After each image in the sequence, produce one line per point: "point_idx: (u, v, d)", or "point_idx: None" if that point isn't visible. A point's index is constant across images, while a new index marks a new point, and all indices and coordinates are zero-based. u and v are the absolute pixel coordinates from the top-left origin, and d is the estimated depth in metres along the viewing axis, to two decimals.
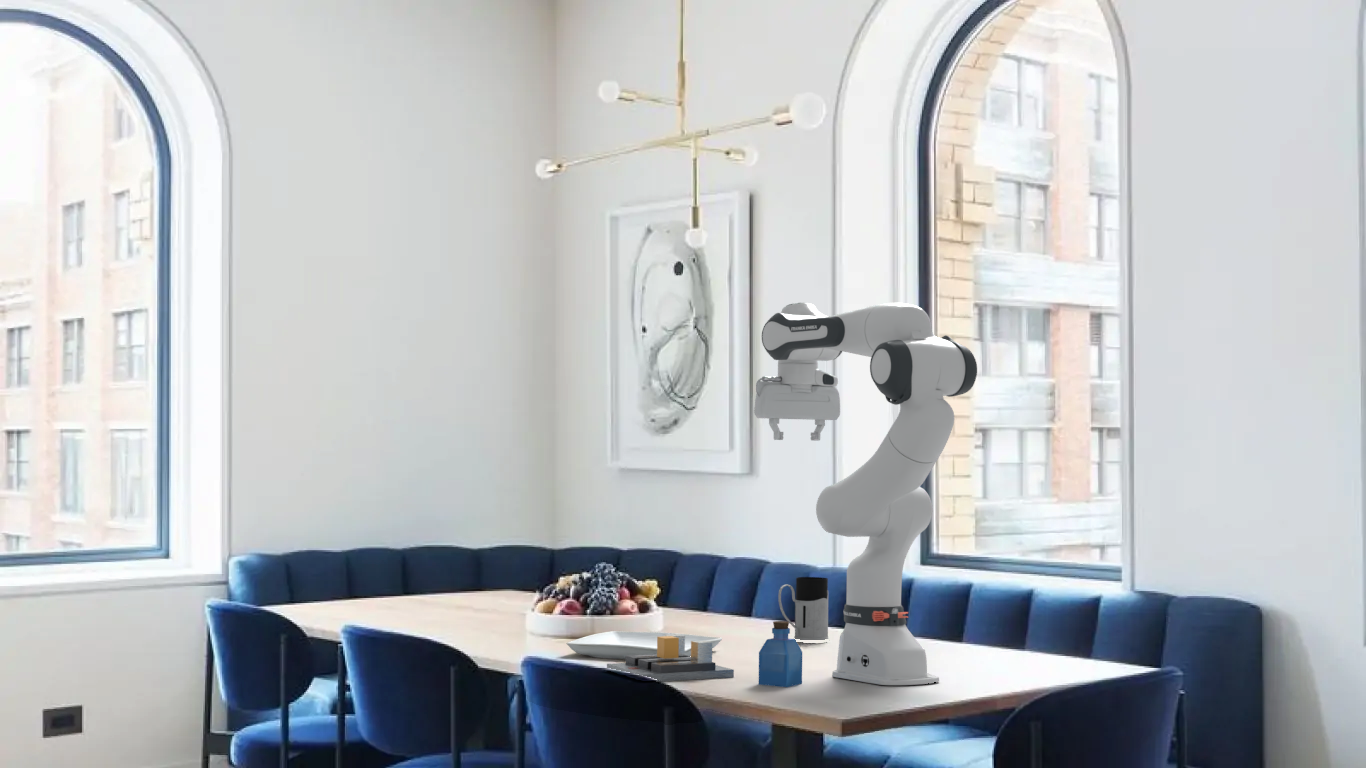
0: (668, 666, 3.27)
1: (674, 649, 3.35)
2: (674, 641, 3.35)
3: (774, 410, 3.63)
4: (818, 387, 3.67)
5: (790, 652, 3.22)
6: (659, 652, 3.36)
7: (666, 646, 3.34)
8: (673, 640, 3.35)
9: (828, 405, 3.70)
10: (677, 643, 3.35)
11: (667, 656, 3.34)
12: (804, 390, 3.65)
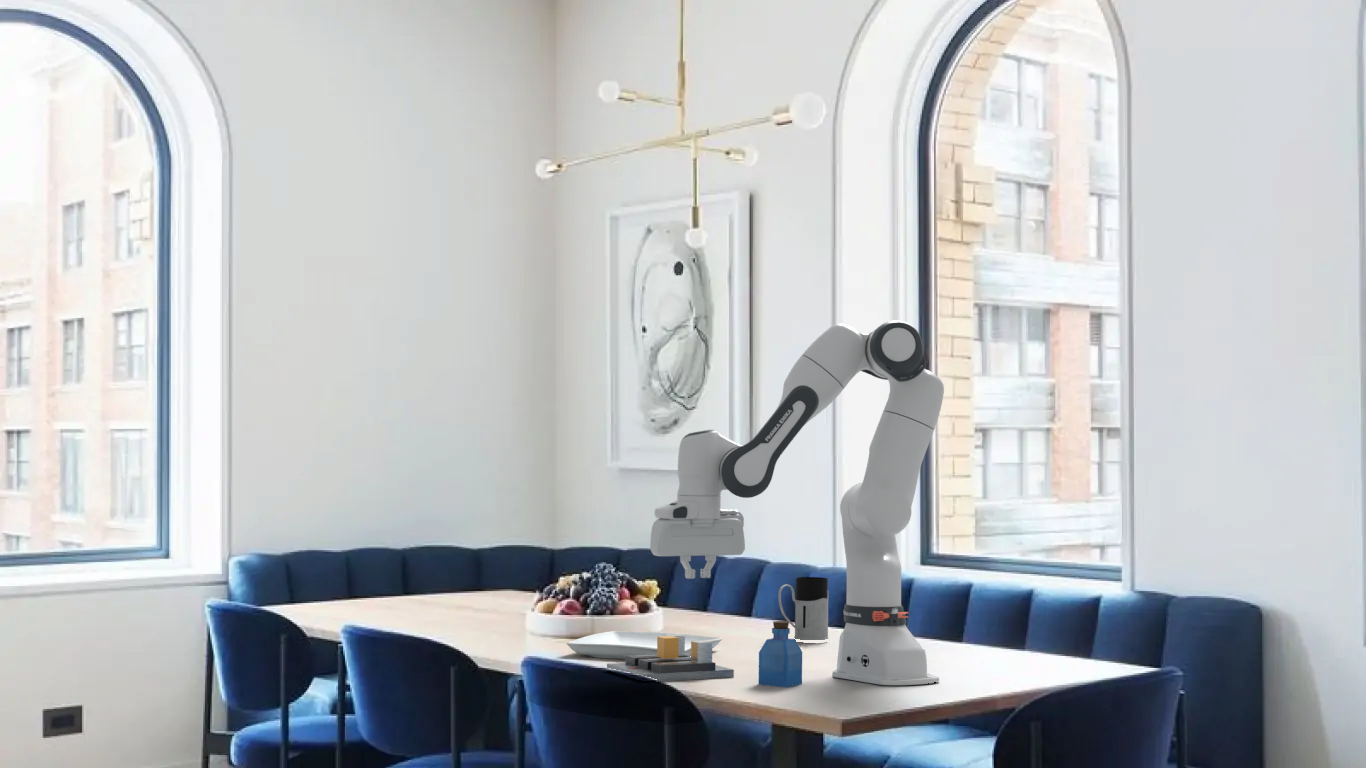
0: (668, 666, 3.27)
1: (674, 649, 3.35)
2: (674, 641, 3.35)
3: None
4: None
5: (790, 652, 3.22)
6: (659, 652, 3.36)
7: (666, 646, 3.34)
8: (673, 640, 3.35)
9: None
10: (677, 643, 3.35)
11: (667, 656, 3.34)
12: None
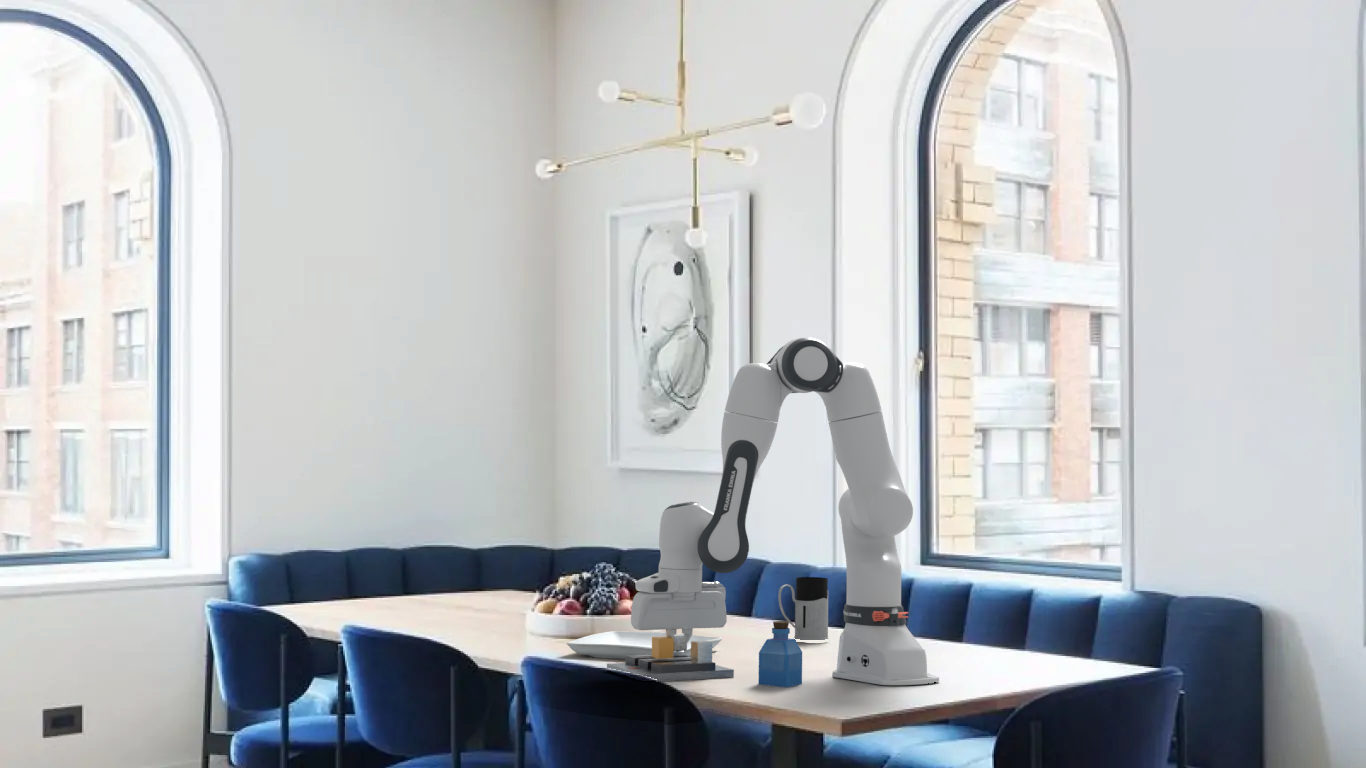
0: (668, 666, 3.27)
1: (669, 649, 3.34)
2: (669, 641, 3.34)
3: None
4: None
5: (790, 652, 3.22)
6: (654, 652, 3.35)
7: (660, 646, 3.33)
8: (668, 640, 3.34)
9: None
10: (672, 643, 3.35)
11: (662, 656, 3.33)
12: None
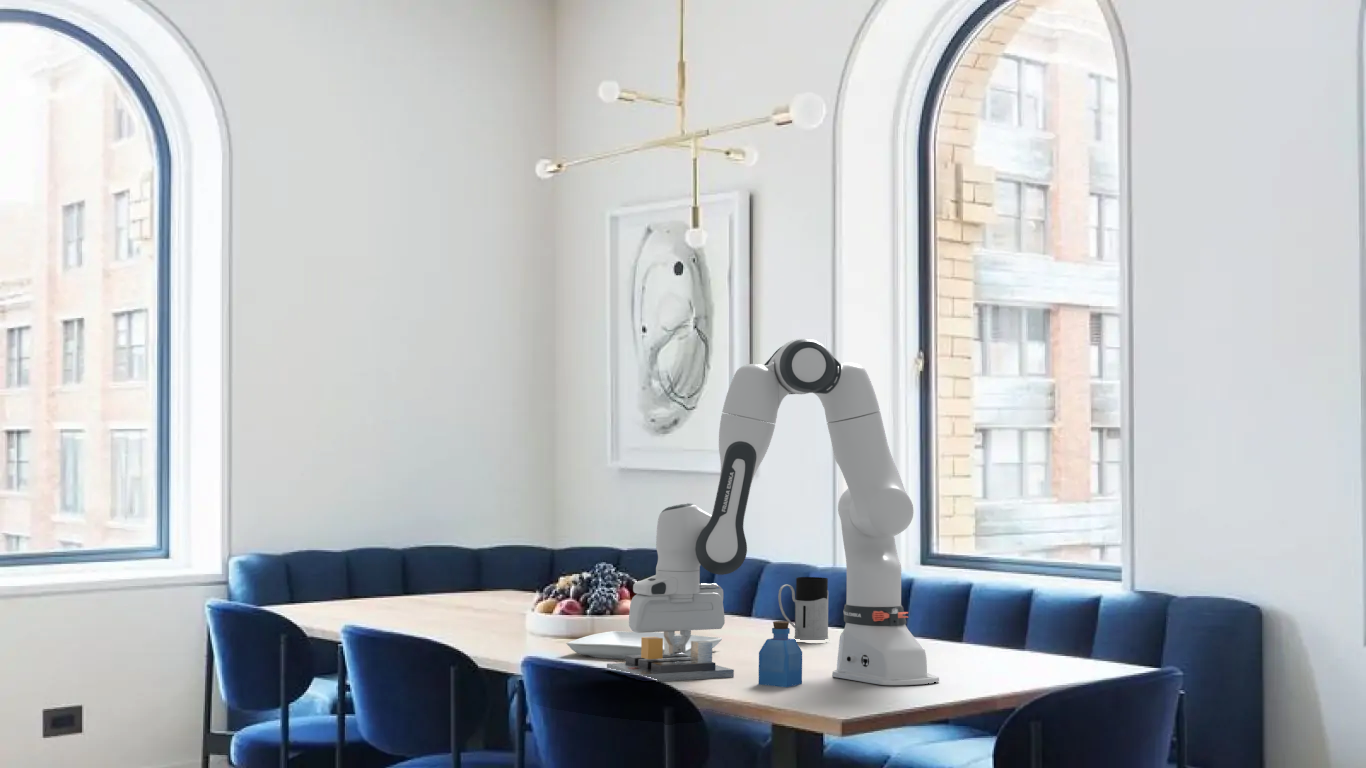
0: (668, 666, 3.27)
1: (658, 650, 3.33)
2: (658, 642, 3.33)
3: None
4: None
5: (790, 652, 3.22)
6: (643, 653, 3.34)
7: (650, 646, 3.32)
8: (657, 641, 3.33)
9: None
10: (661, 644, 3.33)
11: (651, 657, 3.32)
12: None
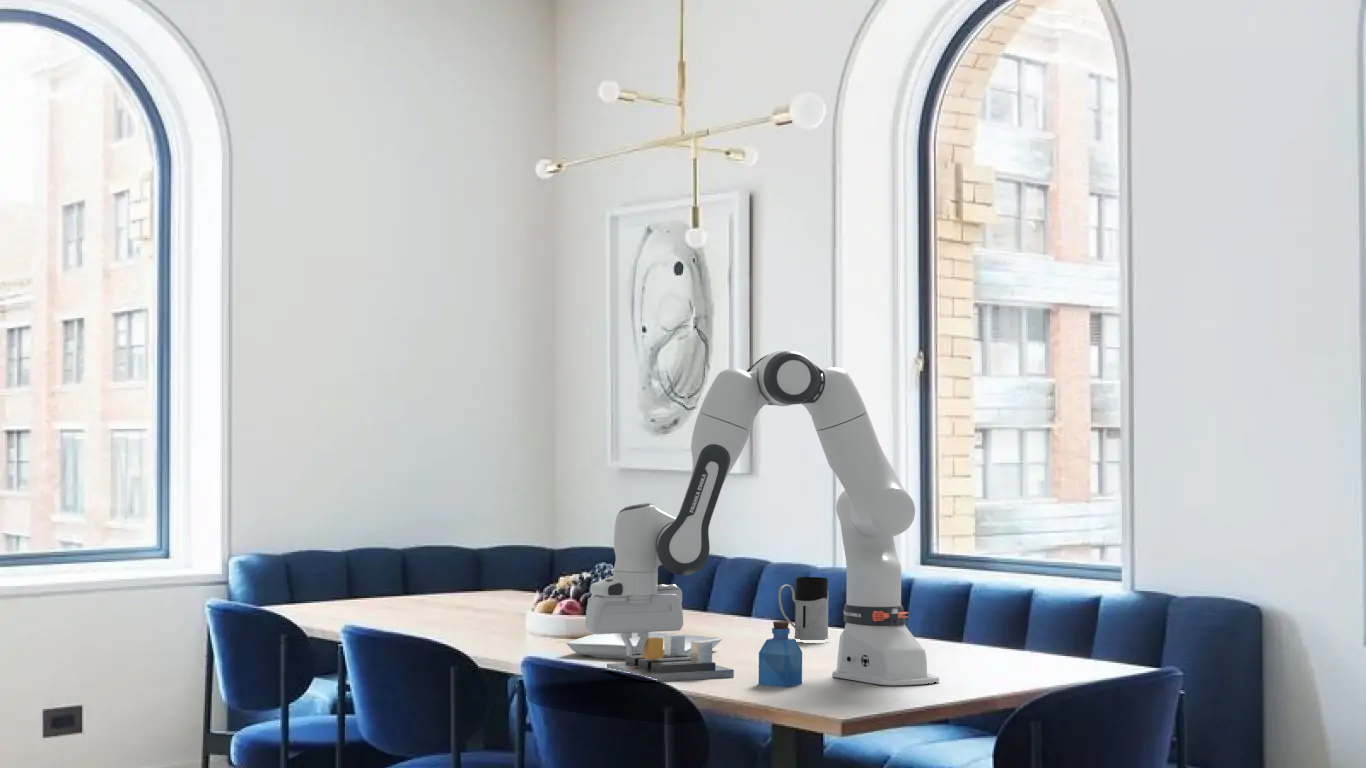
0: (668, 666, 3.27)
1: (659, 650, 3.33)
2: (658, 642, 3.33)
3: None
4: None
5: (790, 652, 3.22)
6: (643, 653, 3.34)
7: (650, 646, 3.32)
8: (658, 641, 3.33)
9: None
10: (662, 644, 3.34)
11: (651, 657, 3.32)
12: None
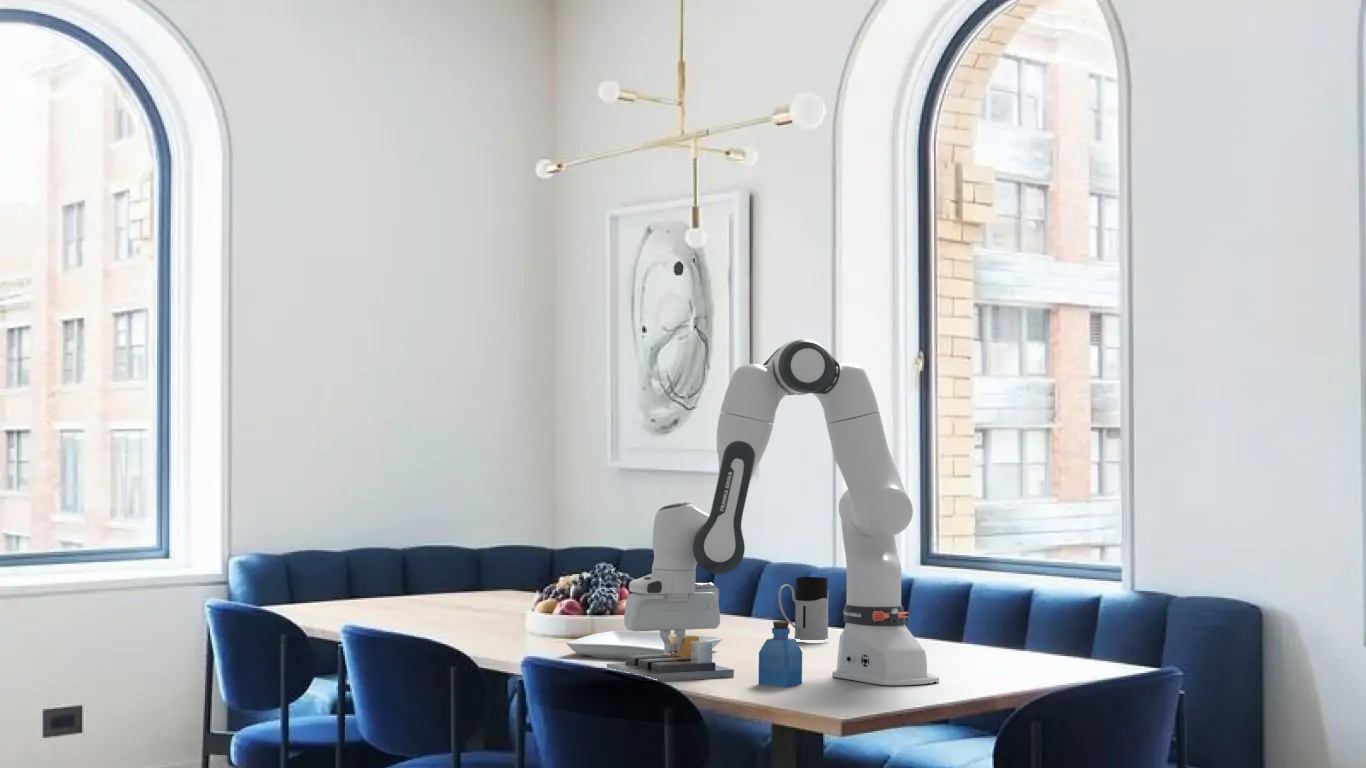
0: (668, 666, 3.27)
1: None
2: (694, 640, 3.37)
3: None
4: None
5: (790, 652, 3.22)
6: (679, 651, 3.38)
7: (686, 645, 3.36)
8: (694, 639, 3.37)
9: None
10: None
11: (688, 655, 3.36)
12: None
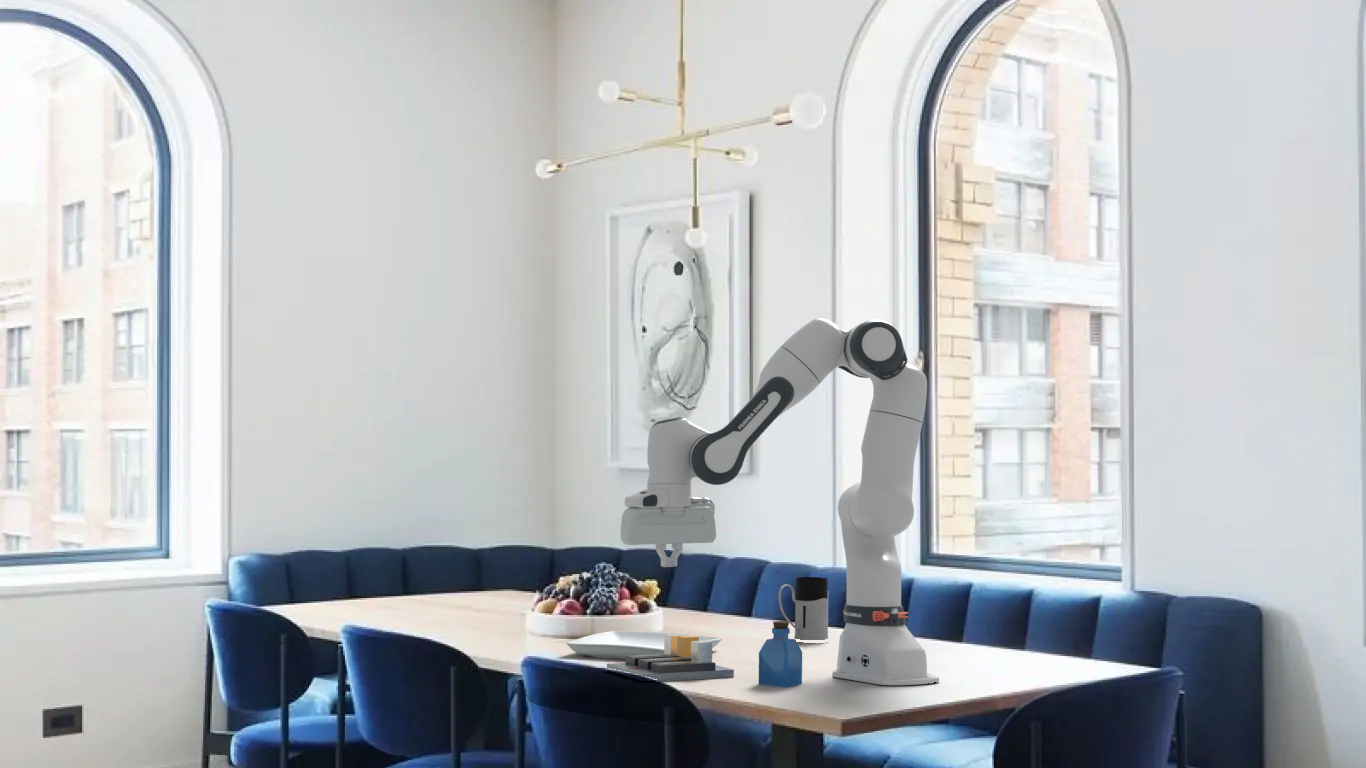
0: (668, 666, 3.27)
1: None
2: (694, 640, 3.37)
3: None
4: None
5: (790, 652, 3.22)
6: (679, 651, 3.38)
7: (686, 645, 3.36)
8: (694, 639, 3.37)
9: None
10: None
11: (687, 655, 3.36)
12: None
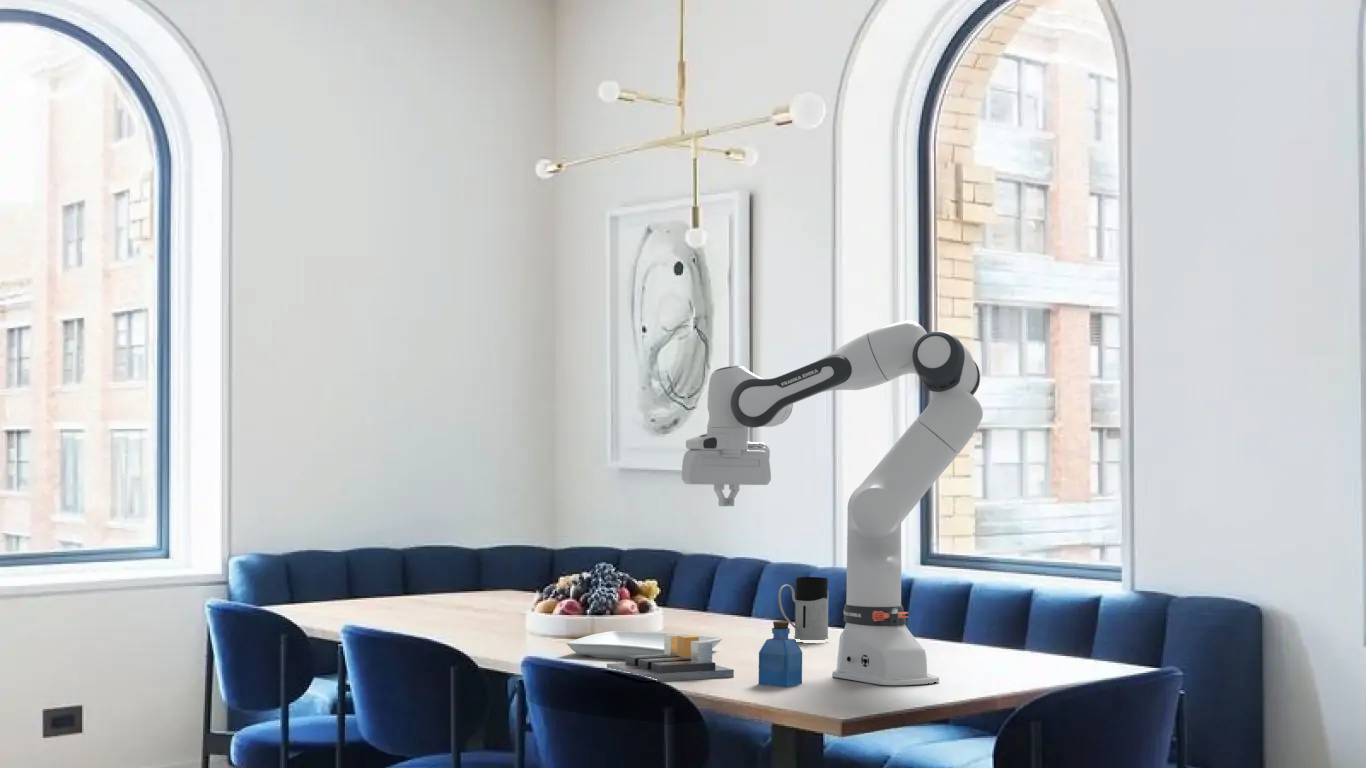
0: (668, 666, 3.27)
1: None
2: (694, 640, 3.37)
3: None
4: None
5: (790, 652, 3.22)
6: (679, 651, 3.38)
7: (686, 645, 3.36)
8: (694, 639, 3.37)
9: None
10: None
11: (687, 655, 3.36)
12: None
